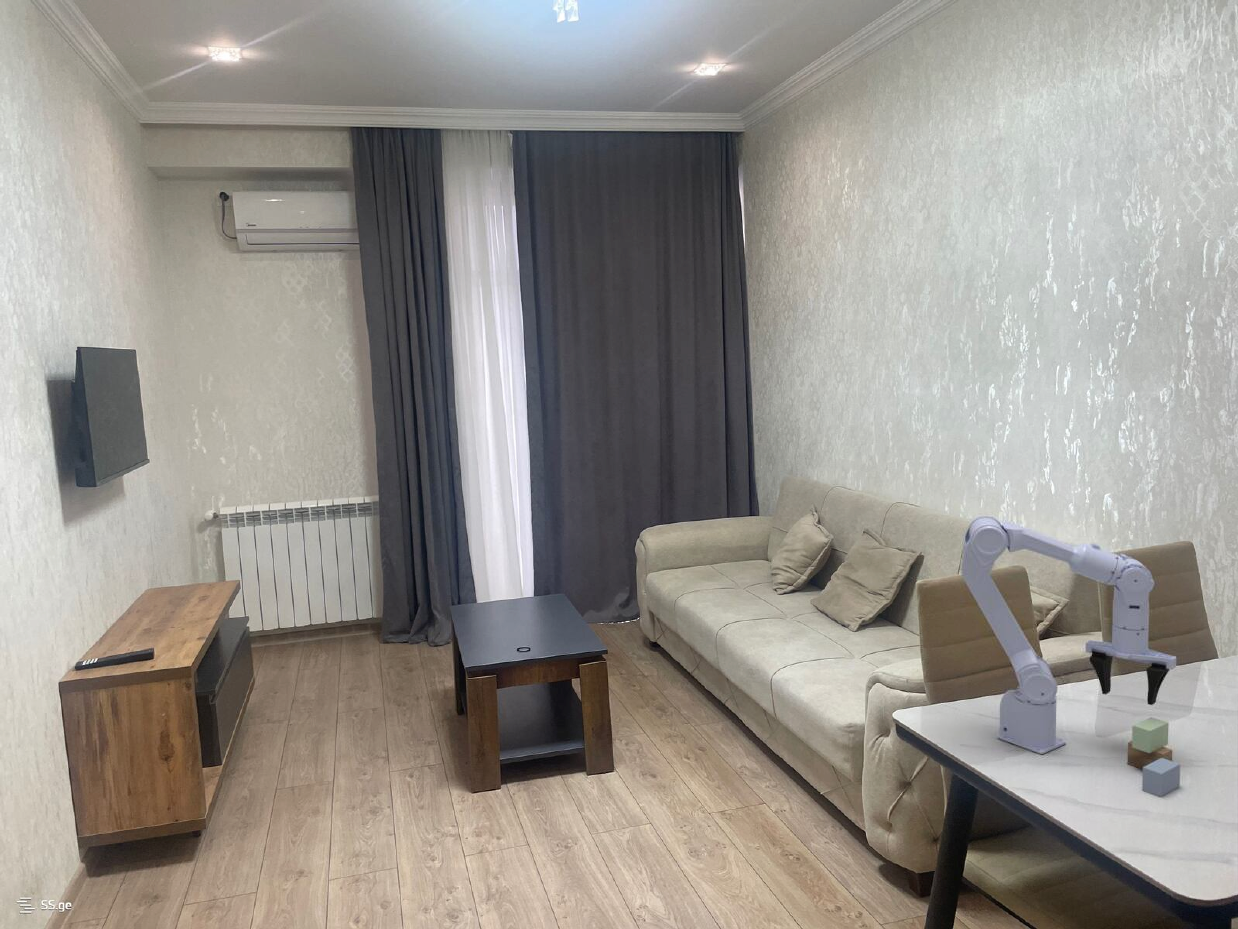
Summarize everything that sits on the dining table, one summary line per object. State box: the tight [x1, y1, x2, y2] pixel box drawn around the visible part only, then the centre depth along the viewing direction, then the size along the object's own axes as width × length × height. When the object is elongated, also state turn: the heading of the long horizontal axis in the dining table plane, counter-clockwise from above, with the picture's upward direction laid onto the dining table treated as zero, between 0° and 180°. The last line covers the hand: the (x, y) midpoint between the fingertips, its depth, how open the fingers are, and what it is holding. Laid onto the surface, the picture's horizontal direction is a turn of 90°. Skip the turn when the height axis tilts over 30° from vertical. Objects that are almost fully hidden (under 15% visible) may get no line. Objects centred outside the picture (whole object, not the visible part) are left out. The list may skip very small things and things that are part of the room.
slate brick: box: [1141, 758, 1181, 798], centre depth 150 cm, size 6×3×4 cm, turn 122°
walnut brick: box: [1127, 740, 1173, 770], centre depth 158 cm, size 6×3×4 cm, turn 32°
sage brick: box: [1131, 716, 1169, 753], centre depth 157 cm, size 6×3×4 cm, turn 122°
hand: (1128, 697), depth 164 cm, fingers open, 7 cm apart
